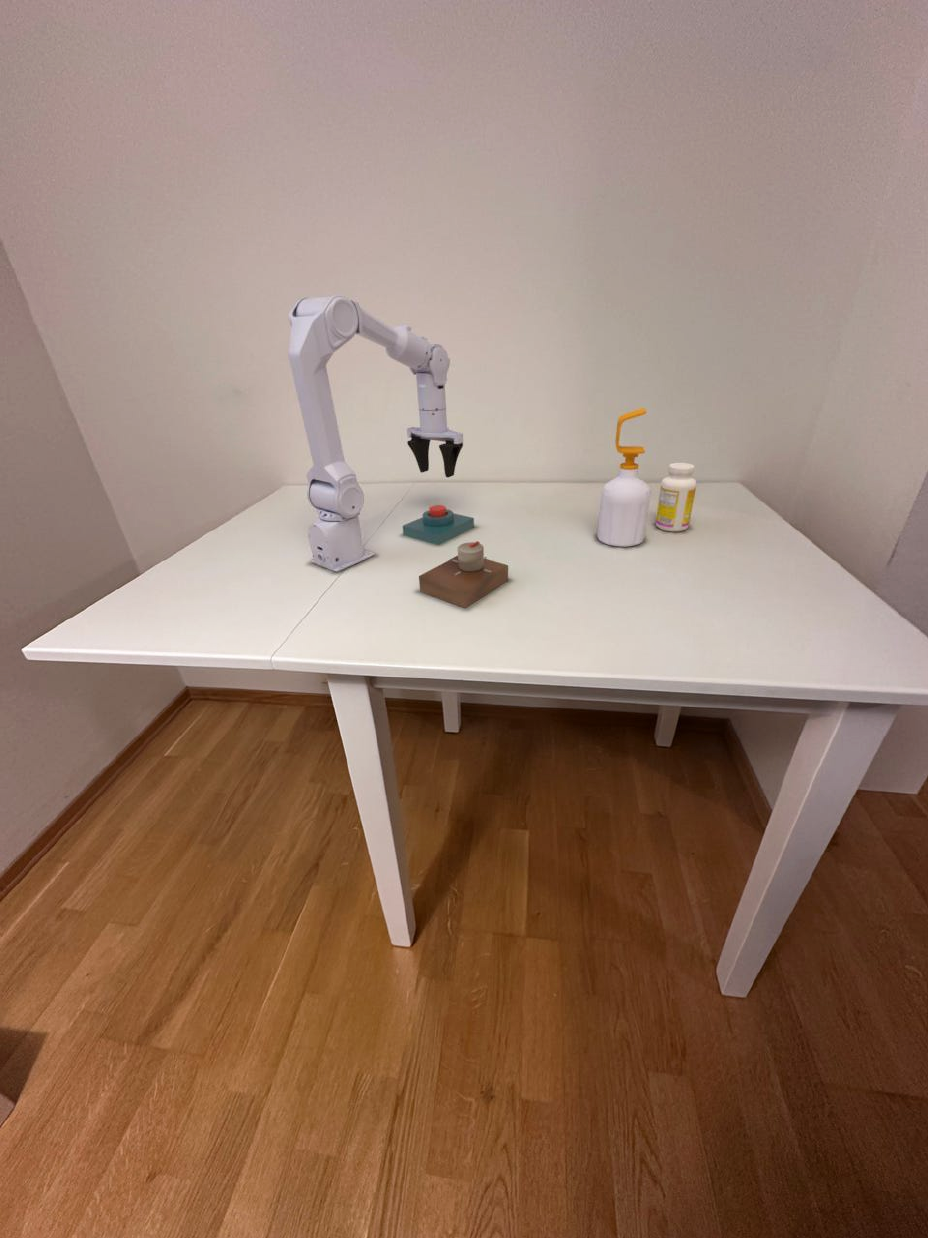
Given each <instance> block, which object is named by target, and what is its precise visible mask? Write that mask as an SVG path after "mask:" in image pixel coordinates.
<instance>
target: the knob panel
mask: <svg viewBox="0 0 928 1238" xmlns="http://www.w3.org/2000/svg"><path fill="white" fill-rule="evenodd" d="M508 581H509V565H508V564H505V563H502V562H498V561H495V560H491V559H488V557H487V556H484V567H483V568H482V569H480V570H478V571H464V570H461V569H460V568H459V564H458V555H455V556H454V557H452V558H450V559H448V560H446V561H445V562H443V563H441V564H439V565H436V566H435V567H433V568H432V569H430V570H427V571H426V572H424V573H422V574H420V575H419V576H418V583H419V592H420V593H423V594H426V595H428V596H431V597H434V598H436V599H439V600H442V601H444V602H447V603H450V604H452V605H455V606H457V607H461V608H463V609H467V608H468V607H469V606H472V605H473V604H474V603H476V602H478V601H479V600H481V599H482V598H483V597H485V596H486V595H489V594H490V593H491V592H493V591H494V590H496V589H498V588H499V587H500V586H502V585H503V584H505V583H507V582H508Z"/></svg>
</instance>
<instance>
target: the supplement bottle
mask: <svg viewBox="0 0 928 1238" xmlns="http://www.w3.org/2000/svg"><path fill="white" fill-rule="evenodd" d="M667 471H668V475H667V476H665V477H663V479H662V480H661V484H660V488H659V489H660V490H659V498H658V503H657V509H656V517H655V526H656V527H657V528H658V529H660V530H661V531H666V532H683V531H685V530H687V529H688V528H689V527H690V523H691V518H692V516H691V515H692V511H693V507H694V501H695V500H694V499H695V495H696V489H697V484H698V483H697V480H696V479H695V478H694V477H692V476H693V474H694V472H695V465H694V464H692V463H688V462H674V463H673V462H672V463H669V465H668V470H667Z"/></svg>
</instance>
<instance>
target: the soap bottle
mask: <svg viewBox="0 0 928 1238" xmlns="http://www.w3.org/2000/svg"><path fill="white" fill-rule="evenodd" d="M646 414H647V410H646V408H645V407H643V408H639V409H636V410H633V411H629V412H626V413H623V414H621V415H620V416H619V418H618V419H617V424H616V432H615V441H614V442H615V448H616V451H617V452H618V453H619V454H622V457H623V458H624V462H622V463H620V465H619V471H618V472H619V473H618V475H617V476H616V477H614V478H613V479H610V480H609V481H608V482H607V483H605V484H604V486H603V488H602V490H601V493H600V503H599V513H598V523H597V534H596V537H597V539H598V540H599V541H600V542H601V543H603V544H604V545H608V546H611V547H619V548H628V547H634V546H638V545H640V544H641V543H642V542H644V539H645V534H646V527H647V521H648V520H647V519H648V514H649V508H650V507H649V506H650V499H651V494H652V491H651V488H650V486H649V485H648V484H647V483H646V482H645V481H644V480H642V479H640V477H638V472H639V463H635V461H636V460H635V459H636V458H638V457H639V454H640V455H642V454H645V452H646V451H645V450H646V449H645V447H644V446H634V445H632V446H631V445H630V446H628V445H627V446H626V445H625V446H624V445H623V446H622V445H620V437H621V429H622V425H623V423H624V422H626V421H628V420H631V419H634V418H637V417H640V416H644V415H646Z"/></svg>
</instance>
